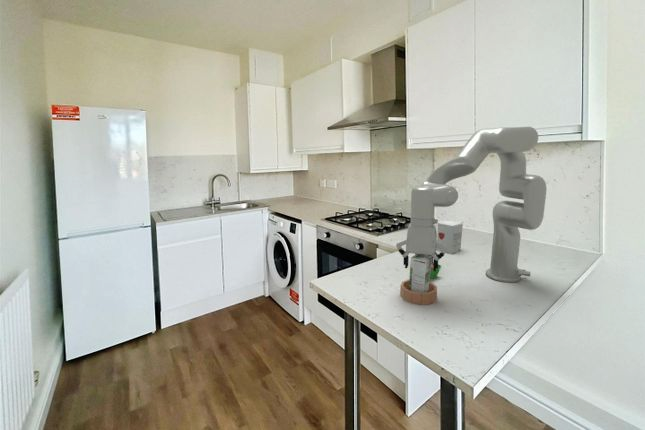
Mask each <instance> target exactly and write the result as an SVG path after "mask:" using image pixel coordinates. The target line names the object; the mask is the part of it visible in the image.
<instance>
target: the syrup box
mask: <svg viewBox="0 0 645 430" xmlns="http://www.w3.org/2000/svg"><path fill="white" fill-rule="evenodd" d="M431 259H432V257H431V256H428V255H423V254H416V255H415V254H414V255H413V256H411V257H410V261H409V262H410V265H409V279H408V280H409V290H410V291H413V292H419V293H425V292H429V288H430V282H431V279H430V274H431Z"/></svg>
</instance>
